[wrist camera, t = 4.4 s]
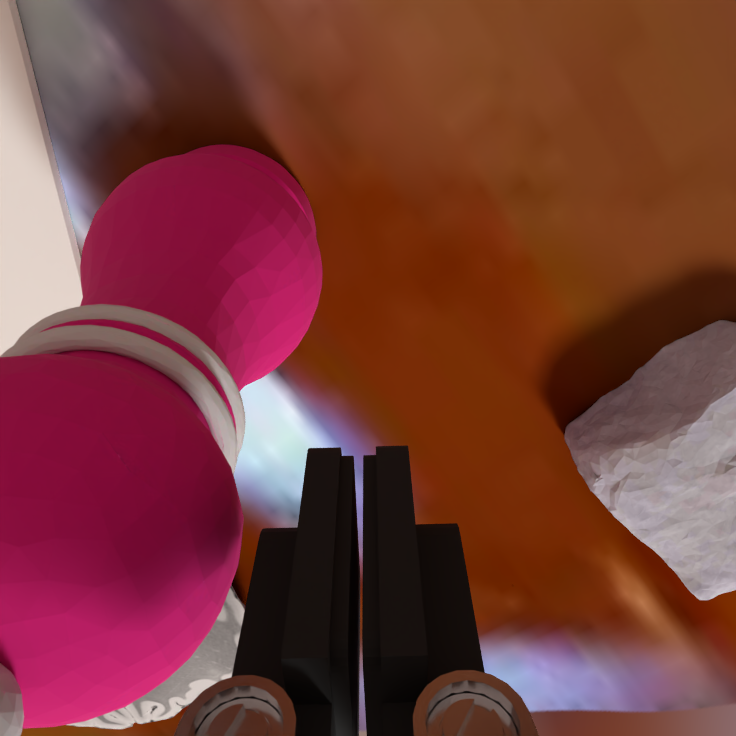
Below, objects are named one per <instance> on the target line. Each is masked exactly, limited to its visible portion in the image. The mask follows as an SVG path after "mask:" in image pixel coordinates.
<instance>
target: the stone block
mask: <svg viewBox="0 0 736 736" xmlns="http://www.w3.org/2000/svg"><path fill="white" fill-rule="evenodd" d="M565 442H566V444H567V445H568V447H569V449H570V451H571V455H572V458H573V460H574V462H575V464H576V465H577V467H578V468H577V469H578V471H579V473H580V474H581V475H582V476H583V478H584V480H585V481H586V483H587V485H588V487H589V488H590V490H591V491H592V492H593V493H594V494H595V495H596V496H597V497H598V498H599V499H600V501H601V502H602V503H603V504H604V505H605V507H606V508H607V509H608V510H609V511H610V512H611V513H612V514H613V516H614V517H615V518H616V519H617V520H619V521H620V522H621V523H622V524H623V525H624V526H625V527H626V528H627V529H628V530H629V531H630V532H631V533H632V534H633V535H634V536H636V537H637V538H638V539H639V540H640V541H642V542H643V543H644V544H646V545H647V546H649V547H650V548H651V549H653V550H654V551H655V552H656V553H657V554H658V555H659V556H660V557H661V558H662V559H663V560H664V561H665V562H666V563H667V565H668V566H669V567H670V568H671V569H672V570H674V571H675V573H676V574H677V575H678V577H679V578H680V579H681V581H682V582H683V583H684V585H685V586H686V587H687V588H688V590H689V591H690V592H691V593H692V594H694V595H695V596H696V597H697V598H698V599H699V600H709V599H712V598H714V597H715V596H717V595H719V594H722V593H725V592H730V591H733V590H736V322H735V323H734V322H730V321H726V320H719V321H717V322H714V323H712V324H709V325H707V326H705V327H704V328H702V329H701V330H699V331H696V332H694V333H692V334H690V335H688V336H686V337H683V338H681V339H678V340H676V341H674V342H673V343H671V344H669V345H667V346H664V347H663V348H662V349H661V350H660V351H659V352H658V353H657V354H656V355H655V356H654V357H653V358H652V359H651V360H650V361H649V362H647V363H646V364H645V365H644V366H643V367H640V368H639V369H637V371H636V372H635V373H634V375H633V376H632V377H631V378H630V380H628V381H627V382H625V383H624V384H622V385H621V386H619V387H618V388H617V389H615V390H613V391H610V392H608V393H607V394H606V395H604V396H602V397H601V398H599V399H598V400H597V402H596V403H594V404H593V405H592V406H591V407H590V408H589V409H588V410H587V411H585V412H584V413H583V414H582V415H581V416H579V417H577V418H576V419H575V420H573V421H572V422H570V423H569V424H568V425H567V426H566V429H565Z"/></svg>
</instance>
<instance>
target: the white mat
mask: <svg viewBox="0 0 736 736" xmlns="http://www.w3.org/2000/svg"><path fill="white" fill-rule="evenodd" d="M80 264H81V257H80V254H79V250H78V246H77V242H76V238H75V234H74V230H73V226H72V222H71V218H70V214H69V210H68V206H67V202H66V198H65V194H64V190H63V186H62V182H61V178H60V174H59V170H58V166H57V163H56V159H55V155H54V151H53V147H52V143H51V139H50V135H49V131H48V127H47V123H46V119H45V115H44V111H43V107H42V103H41V99H40V95H39V91H38V87H37V83H36V79H35V75H34V72H33V68H32V64H31V60H30V56H29V52H28V48H27V44H26V40H25V36H24V32H23V28H22V24H21V20H20V16H19V12H18V8H17V4H16V0H0V356H1V355H2V354H3V353H4V352H5V351H6V350H8V349H9V348H11V347H12V346H14V344H15V343H16V342H17V340H18V339H19V337H20V336H21V335H22V334H24V333H25V332H26V331H27V330H28V329H29V328H30V327H32V326H33V325H35V324H36V323H37V322H39V321H40V320H42V319H44V318H46V317H48V316H50V315H52V314H54V313H57V312H60V311H63V310H66V309H70V308H74V307H79V306H80V305H81V301H82V298H83V295H82V288H81V277H80Z"/></svg>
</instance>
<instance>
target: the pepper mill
mask: <svg viewBox="0 0 736 736" xmlns="http://www.w3.org/2000/svg"><path fill="white" fill-rule="evenodd" d="M80 277H81V288H82V295H83V298H82V301H81V305H80V306H79V307H74V308H70V309H66V310H63V311H60V312H57V313H54V314H52V315H50V316H48V317H46V318H44V319H42V320H40V321H39V322H37V323H36V324H35V325H33V326H32V327H30V328H29V329H28V330H27V331H26V332H25V333H24V334H22V335H21V336H20V337H19V339H18V340H17V342H16V343H15V344H14V346H12V347H11V348H9V349H8V350H6V351H5V352H4V353H3V354H2V355H1V356H0V736H20V735H21V732H22V728H39V727H55V726H60V725H66V724H72V723H78V722H84V721H87V720H90V719H93V718H95V717H98V716H101V715H104V714H107V713H110V712H112V711H115V710H118V709H121V708H124V707H126V706H127V705H129V704H131V703H132V702H134V701H136V700H137V699H139V698H141V697H142V696H144V695H146V694H147V693H149V692H150V691H152V690H153V689H154V688H156V687H157V686H159V685H160V684H161V683H163V682H164V681H166V680H167V679H168V678H169V677H170V676H171V675H172V674H173V673H175V672H176V671H177V670H178V669H179V668H180V667H181V666H182V665H183V664H184V663H185V662H186V661H187V660H188V659H189V658H190V657H191V656H192V655H193V653H194V652H195V651H196V649H197V648H198V647H199V645H200V644H201V643H202V641H203V640H204V638H205V637H206V636H207V634H208V633H209V632H210V630H211V628H212V627H213V625H214V623H215V621H216V619H217V617H218V616H219V614H220V612H221V610H222V607H223V605H224V602H225V600H226V597H227V595H228V592H229V589H230V587H231V584H232V581H233V579H234V576H235V573H236V570H237V567H238V563H239V556H240V549H241V540H242V529H243V513H242V508H241V504H240V500H239V496H238V492H237V488H236V484H235V480H234V476H233V475H234V471H235V467H236V463H237V457H238V454H239V452H240V449H241V447H242V443H243V438H244V433H245V412H244V407H243V403H242V398H241V396H240V393H239V391H240V390H241V389H242V388H243V387H244V386H245V385H247V384H250V383H252V382H254V381H256V380H258V379H260V378H262V377H264V376H265V375H267V374H268V373H270V372H271V371H273V370H274V369H275V368H277V367H278V366H279V365H280V364H281V363H282V362H283V361H284V360H285V359H286V358H287V357H288V356H289V355H290V354H291V353H292V351H293V350H294V349H295V348H296V347H297V346H298V345H299V343H300V341H301V340H302V338H303V337H304V335H305V333H306V332H307V330H308V328H309V326H310V323H311V321H312V318H313V315H314V313H315V310H316V308H317V305H318V301H319V296H320V292H321V287H322V263H321V256H320V250H319V247H318V243H317V240H316V227H315V221H314V216H313V212H312V209H311V206H310V203H309V201H308V198H307V196H306V195H305V193H304V191H303V189H302V188H301V186H300V185H299V183H298V182H297V181H296V180H295V179H294V178H293V177H292V176H291V175H290V174H289V172H288V171H287V170H286V169H285V168H284V167H282V166H281V165H280V164H279V163H277V162H276V161H274V160H273V159H271V158H269V157H267V156H265V155H263V154H261V153H259V152H257V151H255V150H252V149H249V148H245V147H241V146H236V145H222V144H220V145H210V146H205V147H200V148H198V149H195V150H193V151H190V152H187V153H186V154H182V155H177V156H172V157H167V158H163V159H160V160H157V161H155V162H152V163H150V164H147V165H145V166H143V167H142V168H140V169H138V170H137V171H135V172H133V173H132V174H130V175H129V176H128V177H127V178H126V179H125V180H124V181H123V182H122V183H121V184H120V185H118V186H117V187H116V188H115V189H114V190H113V192H112V193H111V194H110V195H109V196H108V198H107V199H106V200H105V202H104V203H103V204H102V206H101V207H100V208H99V210H98V211H97V212H96V214H95V216H94V218H93V221H92V224H91V226H90V229H89V231H88V234H87V236H86V239H85V243H84V247H83V251H82V257H81V264H80Z"/></svg>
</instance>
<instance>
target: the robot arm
mask: <svg viewBox="0 0 736 736" xmlns="http://www.w3.org/2000/svg"><path fill="white" fill-rule="evenodd" d="M362 639H363V675H364V693H365V711H366V728H367V736H539V735H538V732H537V729H536V727H535V724H534V722H533V719H532V717H531V714H530V712H529V710H528V709H527V707H526V705H525V703H524V702H523V700H522V698H521V697H520V696H519V695H518V694H517V693H516V692H515V691H514V690H513V689H512V688H511V687H510V686H509V685H508V684H507V683H505V682H503V681H502V680H500V679H498V678H496V677H495V676H493V675H491V674H487V673H485V672H484V667H483V661H482V655H481V650H480V644H479V638H478V633H477V627H476V621H475V616H474V610H473V604H472V599H471V593H470V587H469V582H468V576H467V570H466V565H465V559H464V553H463V548H462V542H461V536H460V532H459V527H458V525H457V524H419V525H415V514H414V504H413V493H412V483H411V472H410V461H409V451H408V446H378V447H376V455H364V457H363V629H362ZM359 657H360V565H359V547H358V528H357V510H356V491H355V472H354V457H353V456H342V454H341V448H309V449H308V453H307V460H306V468H305V475H304V483H303V491H302V498H301V506H300V514H299V522H298V528H266V529H262V531H261V533H260V537H259V541H258V546H257V551H256V556H255V561H254V566H253V572H252V577H251V582H250V587H249V592H248V597H247V602H246V607H245V612H244V617H243V622H242V627H241V632H240V637H239V642H238V647H237V652H236V657H235V662H234V667H233V672H232V677H231V678H227V679H224V680H221V681H219V682H217V683H215V684H214V685H212V686H210V687H209V688H207V689H205V690H204V691H203V692H202V693H201V694H200V695H199V696H198V697H197V698H196V699H195V700H194V701H193V702H192V703H191V704H190V705H189V706H188V708H187V710H186V712H185V713H184V715H183V717H182V718H181V720H180V722H179V724H178V727H177V729H176V732H175V734H174V736H359Z"/></svg>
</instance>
